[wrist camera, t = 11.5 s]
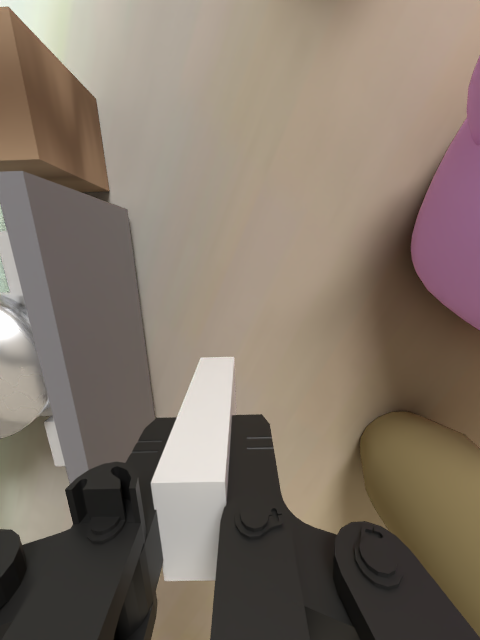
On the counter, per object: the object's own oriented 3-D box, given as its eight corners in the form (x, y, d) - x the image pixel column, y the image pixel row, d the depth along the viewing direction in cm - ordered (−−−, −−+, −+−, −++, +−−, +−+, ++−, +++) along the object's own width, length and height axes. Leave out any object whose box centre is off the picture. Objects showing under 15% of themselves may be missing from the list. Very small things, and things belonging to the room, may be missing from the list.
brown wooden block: (12, 102, 15) (-126, 12, 10) (95, 98, 15) (8, 6, 10) (32, 193, 17) (-79, 163, 11) (109, 191, 17) (39, 159, 11)
